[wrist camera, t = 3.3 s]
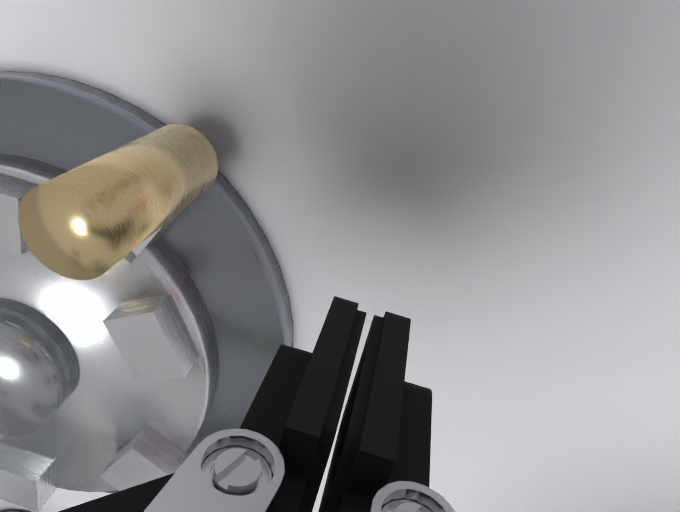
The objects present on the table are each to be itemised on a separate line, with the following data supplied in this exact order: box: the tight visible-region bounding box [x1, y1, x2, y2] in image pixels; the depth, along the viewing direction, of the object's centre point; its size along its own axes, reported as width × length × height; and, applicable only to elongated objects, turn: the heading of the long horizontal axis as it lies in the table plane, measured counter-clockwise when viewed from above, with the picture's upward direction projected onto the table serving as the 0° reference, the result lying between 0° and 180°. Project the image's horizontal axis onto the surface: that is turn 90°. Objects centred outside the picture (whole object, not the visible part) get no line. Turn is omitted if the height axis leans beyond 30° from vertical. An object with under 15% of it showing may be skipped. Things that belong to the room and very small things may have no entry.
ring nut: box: [0, 124, 220, 512], centre depth 19 cm, size 19×15×6 cm
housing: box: [0, 71, 293, 493], centre depth 23 cm, size 20×20×2 cm
